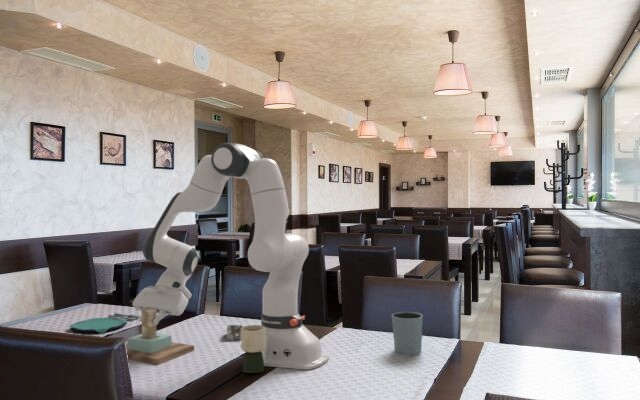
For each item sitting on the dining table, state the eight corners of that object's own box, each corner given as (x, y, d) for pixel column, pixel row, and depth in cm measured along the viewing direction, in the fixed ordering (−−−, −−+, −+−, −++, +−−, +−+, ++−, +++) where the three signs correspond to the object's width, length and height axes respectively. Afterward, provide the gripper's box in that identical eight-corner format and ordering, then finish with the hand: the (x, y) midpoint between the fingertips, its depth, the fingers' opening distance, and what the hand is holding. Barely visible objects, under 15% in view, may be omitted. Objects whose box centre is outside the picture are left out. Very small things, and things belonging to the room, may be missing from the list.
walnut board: (194, 350, 173) (194, 345, 173) (159, 364, 159) (159, 359, 159) (141, 341, 184) (141, 337, 184) (104, 353, 170) (104, 349, 170)
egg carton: (246, 341, 185) (245, 329, 185) (224, 341, 184) (224, 330, 184) (248, 332, 195) (248, 322, 195) (228, 333, 195) (228, 322, 195)
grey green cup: (422, 356, 165) (422, 319, 164) (390, 355, 167) (390, 317, 166) (422, 347, 175) (422, 311, 174) (392, 345, 177) (392, 310, 176)
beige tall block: (156, 339, 172) (156, 309, 172) (150, 341, 170) (150, 311, 169) (147, 338, 174) (147, 308, 174) (141, 339, 171) (141, 309, 171)
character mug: (252, 364, 158) (252, 322, 158) (273, 367, 155) (272, 324, 155) (232, 376, 148) (232, 331, 148) (254, 380, 145) (254, 333, 145)
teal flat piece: (59, 332, 197) (59, 326, 197) (112, 316, 226) (112, 310, 226) (102, 337, 191) (102, 330, 191) (151, 319, 220) (151, 314, 220)
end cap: (171, 345, 173) (171, 335, 173) (151, 353, 165) (151, 342, 165) (148, 341, 178) (148, 331, 178) (127, 349, 170) (127, 338, 170)
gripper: (141, 280, 182) (119, 313, 174) (186, 284, 173) (165, 320, 164) (151, 290, 186) (130, 324, 178) (195, 295, 177) (175, 331, 168)
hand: (147, 322), depth 171 cm, fingers closed on beige tall block, 4 cm apart
